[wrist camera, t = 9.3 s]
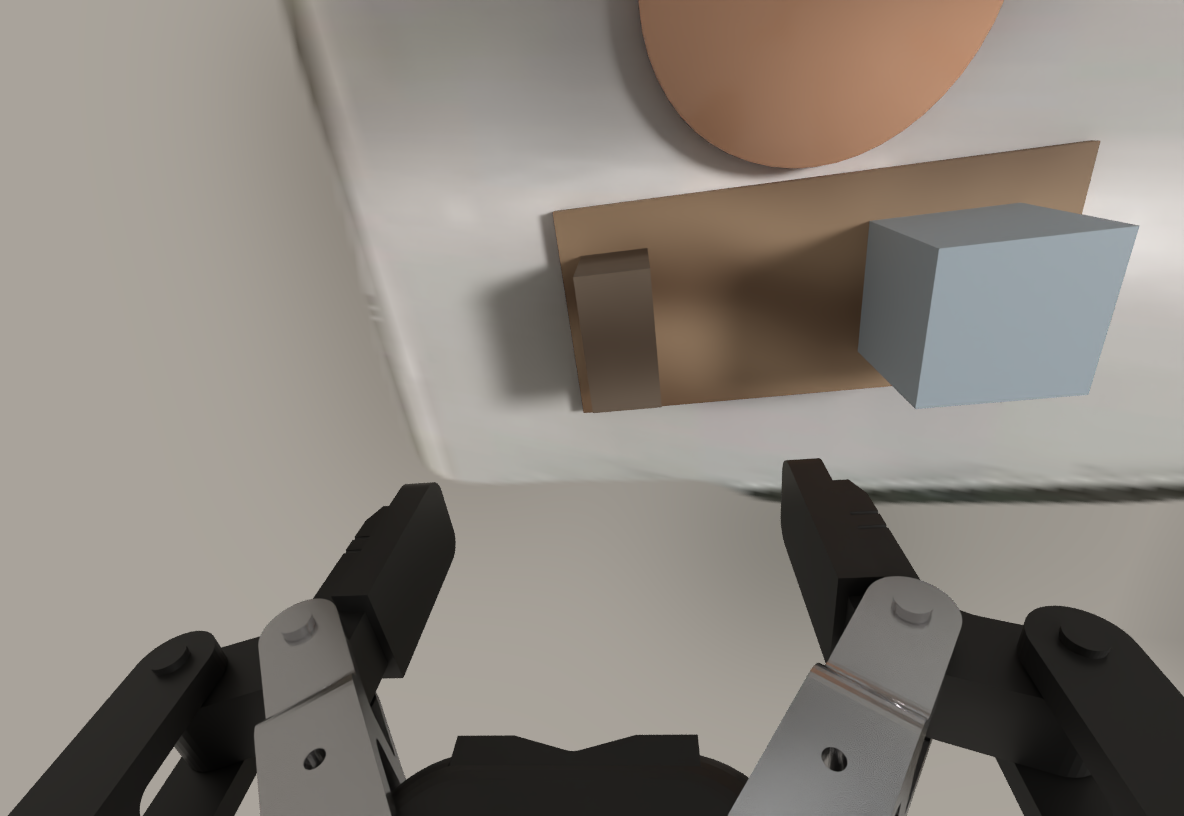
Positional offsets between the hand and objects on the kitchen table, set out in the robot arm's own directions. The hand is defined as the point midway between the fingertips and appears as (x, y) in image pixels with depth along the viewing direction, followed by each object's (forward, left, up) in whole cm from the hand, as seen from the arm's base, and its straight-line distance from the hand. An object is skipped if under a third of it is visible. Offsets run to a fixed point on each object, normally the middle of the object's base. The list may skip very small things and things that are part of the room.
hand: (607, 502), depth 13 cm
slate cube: (0, +14, -15) cm, 20 cm away
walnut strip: (0, +9, -16) cm, 18 cm away
